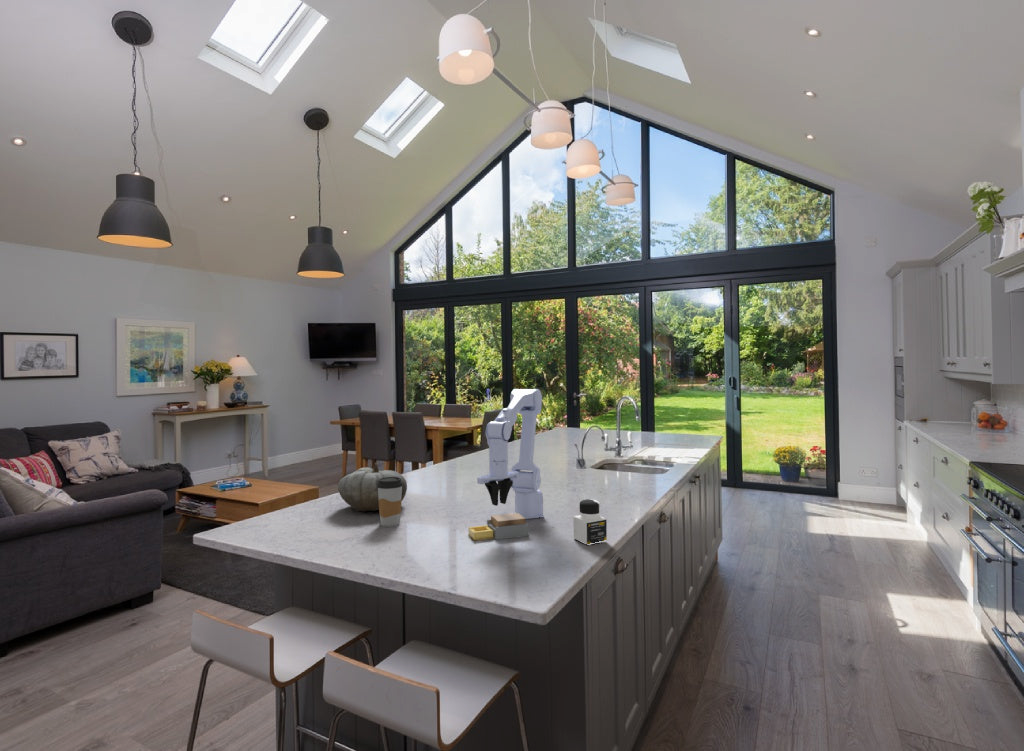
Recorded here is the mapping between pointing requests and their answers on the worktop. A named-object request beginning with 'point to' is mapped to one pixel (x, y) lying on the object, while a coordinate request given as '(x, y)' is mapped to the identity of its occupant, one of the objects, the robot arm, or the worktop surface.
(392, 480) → the coffee cup
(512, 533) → the grey piece
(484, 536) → the yellow square tray
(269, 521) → the worktop surface
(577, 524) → the medicine bottle
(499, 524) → the cover
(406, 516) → the worktop surface
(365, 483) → the gourd
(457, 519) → the worktop surface
